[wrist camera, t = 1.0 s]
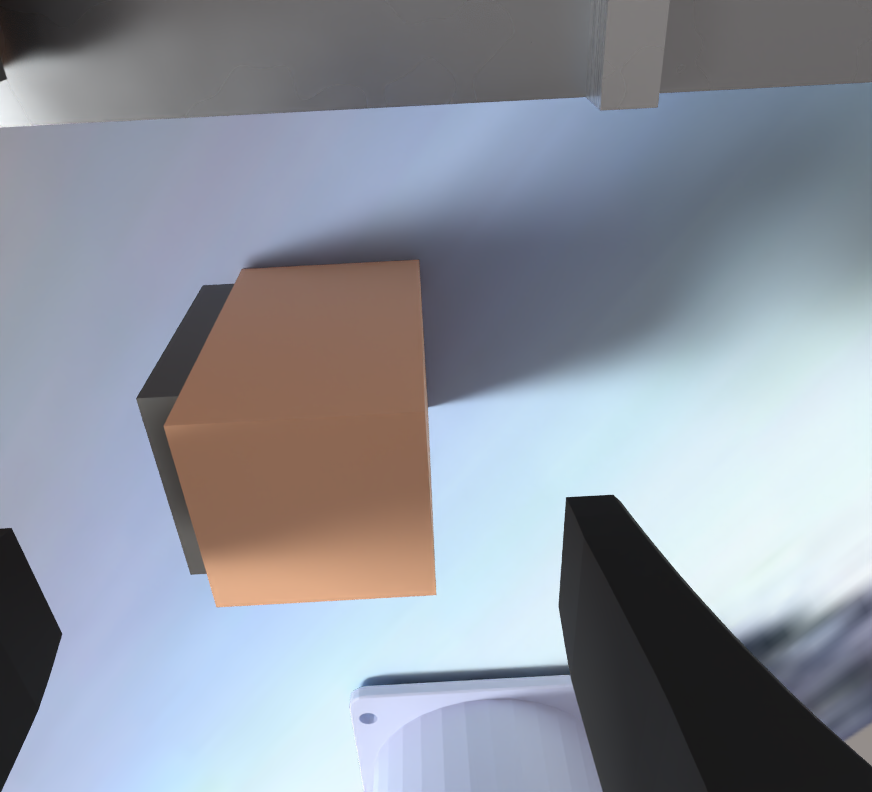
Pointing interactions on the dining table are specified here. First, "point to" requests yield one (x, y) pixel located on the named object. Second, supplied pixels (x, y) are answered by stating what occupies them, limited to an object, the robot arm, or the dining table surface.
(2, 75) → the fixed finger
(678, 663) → the robot arm
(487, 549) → the dining table surface
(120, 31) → the rail
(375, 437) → the tan block with backing
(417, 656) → the dining table surface
